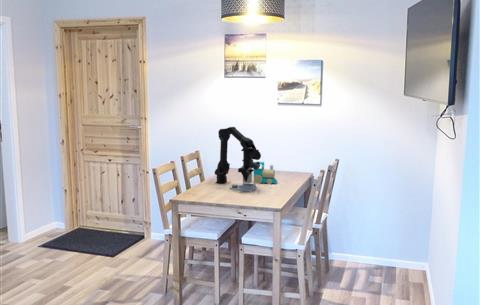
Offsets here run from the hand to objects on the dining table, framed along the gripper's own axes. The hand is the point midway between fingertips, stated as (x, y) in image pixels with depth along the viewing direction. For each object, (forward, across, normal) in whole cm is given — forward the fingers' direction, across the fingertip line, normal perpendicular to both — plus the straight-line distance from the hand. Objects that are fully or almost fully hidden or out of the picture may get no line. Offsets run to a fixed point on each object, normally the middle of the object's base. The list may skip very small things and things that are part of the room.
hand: (247, 180), depth 317 cm
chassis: (+6, 0, +3) cm, 7 cm away
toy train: (+6, +25, -4) cm, 26 cm away
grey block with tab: (+1, 0, 0) cm, 1 cm away
